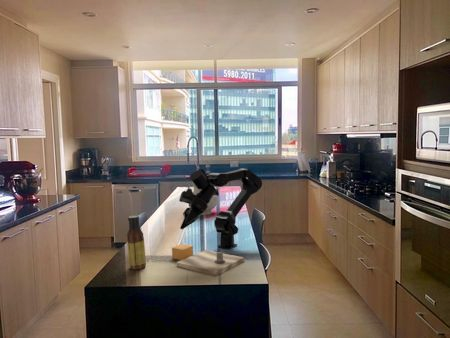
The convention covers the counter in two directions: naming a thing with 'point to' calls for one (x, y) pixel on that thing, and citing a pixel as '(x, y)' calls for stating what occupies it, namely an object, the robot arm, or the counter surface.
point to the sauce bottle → (135, 244)
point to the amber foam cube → (182, 251)
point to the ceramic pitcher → (211, 204)
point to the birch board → (210, 262)
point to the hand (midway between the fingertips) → (183, 226)
